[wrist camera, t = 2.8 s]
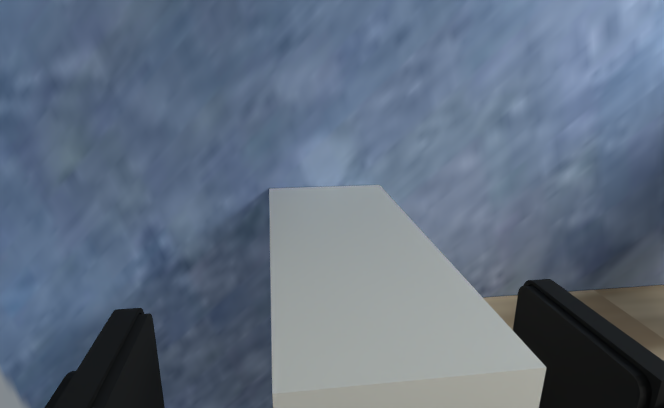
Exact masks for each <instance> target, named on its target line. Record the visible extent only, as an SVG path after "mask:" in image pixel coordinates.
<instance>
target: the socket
mask: <svg viewBox="0 0 664 408" xmlns="http://www.w3.org/2000/svg"><path fill="white" fill-rule="evenodd" d="M569 293H570V294H572V295H573V296H575V297H576V298H577V299H579V300H580V301H582V302H583V303H584V304H586V305H587V306H588V307H590V308H591V309H593V310H594V311H595V312H597V313H598V314H599V315H601V316H602V317H604V318H605V319H606V320H608V321H609V322H611V323H612V324H613V325H615V326H616V327H617V328H619V329H620V330H622V331H623V332H624V333H626V334H627V335H629V336H630V337H631V338H633V339H634V340H635V341H637V342H638V343H640V344H641V345H642V346H644V347H645V348H647V349H648V350H649V351H651V352H652V353H653V354H655V355H656V356H658V357H659V358H660V359H662V360H663V361H664V285H655V286H641V287H627V288H612V289H598V290H584V291H570V292H569ZM517 298H518V295H513V296H499V297H485V298H483V299H484V300H485V301H486V302H487V303H488V304H489V305H490V306H491V307H492V308H493V309H494V311H495V312H496V313H497V314H498V315H499V316H500V317H501V318H502V319H503V320H504V321H505V323H506V324H507V325H508V326H509V327H510V328H511V329H512V330H513V325H514V318H515V311H516V304H517Z"/></svg>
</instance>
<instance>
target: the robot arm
mask: <svg viewBox="0 0 664 408" xmlns="http://www.w3.org/2000/svg"><path fill="white" fill-rule="evenodd" d="M513 331H514V332H515V333H516V335H517V336H518V337H519V338H520V339H521V340H522V341H523V342H524V343H525V344H526V346H527V347H528V348H529V349H530V350H531V351H532V352H533V353H534V354H535V355H536V356H537V358H538V359H539V360H540V361H541V362H542V363H543V364H544V365H545V366H546V367H547V368H546V373H545V378H544V383H543V389H542V394H541V399H540V404H539V408H664V361H663V360H662V359H660V358H659V357H658V356H656V355H655V354H653V353H652V352H651V351H649V350H648V349H647V348H645V347H644V346H642V345H641V344H640V343H638V342H637V341H635V340H634V339H633V338H631V337H630V336H629V335H627V334H626V333H624V332H623V331H622V330H620V329H619V328H617V327H616V326H615V325H613V324H612V323H611V322H609V321H608V320H606V319H605V318H604V317H602V316H601V315H599V314H598V313H597V312H595V311H594V310H593V309H591V308H590V307H588V306H587V305H586V304H584V303H583V302H582V301H580V300H579V299H577V298H576V297H575V296H573V295H572V294H570V293H569V292H568V291H566V290H565V289H564V288H562V287H561V286H559V285H558V284H557V283H555V282H554V281H552V280H550V279H542V280H528V281H527V282H525V284H524V286H522V287H520V289H519V292H518V298H517V304H516V311H515V318H514V325H513ZM45 408H164V400H163V393H162V385H161V378H160V370H159V363H158V355H157V348H156V340H155V333H154V325H153V318H152V315H151V314H150V313H149V314H144V312H143V309H142V308H133V309H118V310H115V311H114V312H113V313H112V315H111V316H110V318H109V319H108V321H107V323H106V324H105V326H104V327H103V329H102V331H101V332H100V334H99V335H98V337H97V339H96V340H95V342H94V343H93V345H92V347H91V348H90V350H89V352H88V353H87V355H86V356H85V358H84V360H83V361H82V363H81V364H80V366H79V368H78V369H77V371H72V372H70V373H68V374H67V375H66V376H65V377H64V379H63V380H62V382H61V383H60V385H59V386H58V388H57V390H56V391H55V393H54V394H53V396H52V397H51V399H50V400H49V402H48V403H47V405H46V407H45Z"/></svg>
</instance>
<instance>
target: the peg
mask: <svg viewBox="0 0 664 408" xmlns="http://www.w3.org/2000/svg"><path fill="white" fill-rule="evenodd" d="M269 212H270V277H271V342H272V398H273V408H539V404H540V399H541V394H542V389H543V383H544V378H545V373H546V368H547V367H546V366H545V365H544V364H543V363H542V362H541V361H540V360H539V359H538V358H537V356H536V355H535V354H534V353H533V352H532V351H531V350H530V349H529V348H528V347H527V346H526V344H525V343H524V342H523V341H522V340H521V339H520V338H519V337H518V336H517V335H516V333H515V332H514V331H513V330H512V329H511V328H510V327H509V326H508V325H507V324H506V323H505V321H504V320H503V319H502V318H501V317H500V316H499V315H498V314H497V313H496V312H495V311H494V309H493V308H492V307H491V306H490V305H489V304H488V303H487V302H486V301H485V300H484V299H483V297H482V296H481V295H480V294H479V293H478V292H477V291H476V290H475V289H474V288H473V286H472V285H471V284H470V283H469V282H468V281H467V280H466V279H465V278H464V277H463V276H462V274H461V273H460V272H459V271H458V270H457V269H456V268H455V267H454V266H453V265H452V264H451V262H450V261H449V260H448V259H447V258H446V257H445V256H444V255H443V254H442V253H441V252H440V250H439V249H438V248H437V247H436V246H435V245H434V244H433V243H432V242H431V241H430V239H429V238H428V237H427V236H426V235H425V234H424V233H423V232H422V231H421V230H420V229H419V227H418V226H417V225H416V224H415V223H414V222H413V221H412V220H411V219H410V218H409V217H408V215H407V214H406V213H405V212H404V211H403V210H402V209H401V208H400V207H399V206H398V205H397V203H396V202H395V201H394V200H393V199H392V198H391V197H390V196H389V195H388V194H387V192H386V191H385V190H384V189H383V188H382V187H381V186H380V185H363V186H331V187H299V188H269Z"/></svg>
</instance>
